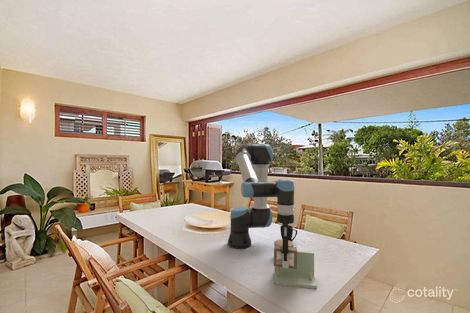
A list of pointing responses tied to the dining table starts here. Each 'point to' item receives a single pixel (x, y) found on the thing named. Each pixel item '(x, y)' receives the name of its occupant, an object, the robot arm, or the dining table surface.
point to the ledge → (298, 272)
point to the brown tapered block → (292, 256)
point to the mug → (290, 233)
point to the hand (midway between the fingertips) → (285, 264)
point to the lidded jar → (280, 243)
